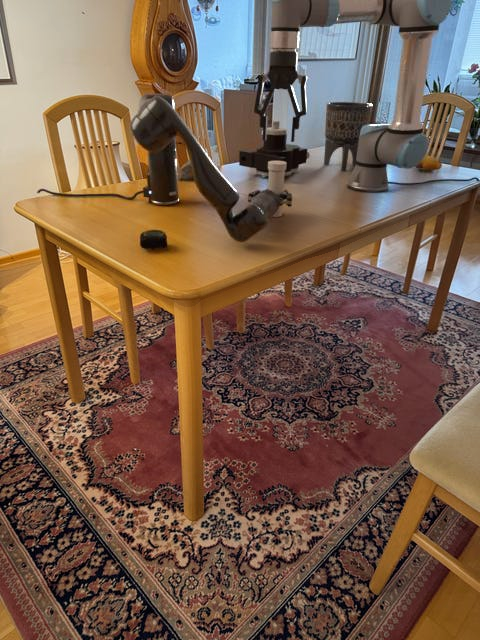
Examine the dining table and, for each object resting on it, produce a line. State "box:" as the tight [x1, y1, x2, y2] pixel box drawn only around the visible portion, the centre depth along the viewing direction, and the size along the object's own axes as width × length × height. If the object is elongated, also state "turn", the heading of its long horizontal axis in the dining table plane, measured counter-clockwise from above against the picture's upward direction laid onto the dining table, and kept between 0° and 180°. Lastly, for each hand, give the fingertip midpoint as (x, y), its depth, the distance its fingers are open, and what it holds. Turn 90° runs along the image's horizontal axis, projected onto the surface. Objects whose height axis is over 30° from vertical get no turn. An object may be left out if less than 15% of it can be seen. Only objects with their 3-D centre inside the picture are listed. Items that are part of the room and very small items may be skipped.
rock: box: [177, 159, 194, 182], centre depth 183 cm, size 13×9×6 cm, turn 131°
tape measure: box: [139, 229, 168, 250], centre depth 117 cm, size 7×7×4 cm
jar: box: [267, 170, 285, 218], centre depth 141 cm, size 5×5×16 cm
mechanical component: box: [238, 120, 311, 178], centre depth 191 cm, size 22×21×30 cm
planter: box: [323, 101, 374, 172], centre depth 204 cm, size 20×20×26 cm
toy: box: [414, 156, 443, 172], centre depth 207 cm, size 11×6×15 cm
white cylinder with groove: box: [268, 161, 286, 171], centre depth 137 cm, size 6×6×2 cm
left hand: (277, 192), depth 144 cm, fingers closed on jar, 5 cm apart
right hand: (278, 140), depth 134 cm, fingers open, 8 cm apart
